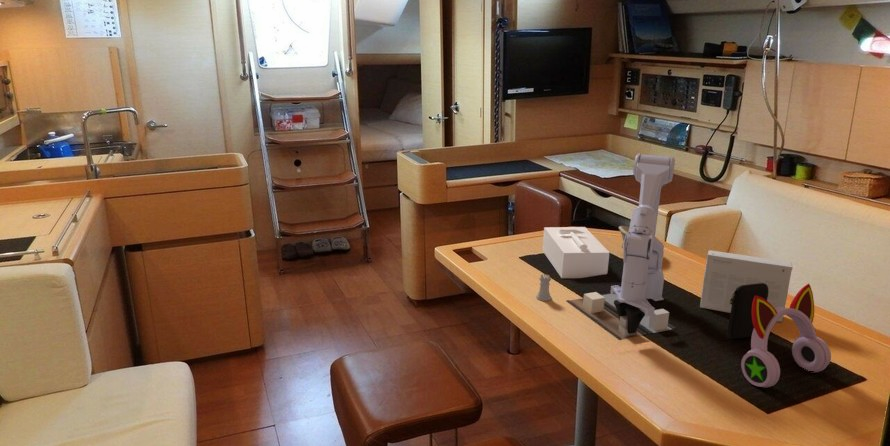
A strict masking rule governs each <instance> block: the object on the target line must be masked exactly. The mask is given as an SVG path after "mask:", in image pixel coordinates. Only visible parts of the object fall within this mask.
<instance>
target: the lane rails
mask: <svg viewBox="0 0 890 446" xmlns="http://www.w3.org/2000/svg"><path fill="white" fill-rule="evenodd" d="M565 301H566V303H568V304H569V305H570V306H572V307H573V308H575V309H576V310H578V311H579V312H580V313H581V314H583V315H585V317H587V318H589V319H590V320H591V321H592V322H594V323H595V324H596V325H598V326H600V328H602V329H603V330H605V331H607V332H608V334H610V335H612V336H613V337H615V339H617V340H619V341H620V340H623V339H622V338H620V337H619V336H618V335H616V334H615V333H614V332H612V331H611V330H609V329H608V328H607V327H605V326H604V325H602V324H601V323H600V322H598V321H597V320H596V319H594V318H593V317H591V316H590V315H589V314H587V313H586V312H585V311H583V310H582V309H580V308H579V307H578V306H576V305H575V304H573V303H572V302H571V301H570V299H567V300H565ZM607 306H608V307H607ZM609 307H610V308H611V309H610V308H609ZM604 309H605V310H606V311H608V312H609V313H611V314H612V315H614V316H615V317H617V318H618V319H619V316H618V313H616V312H617V309H616V308H615V307H614V306H612V305H611V304H609V303H608V302H606V301H604ZM613 310H614V311H613ZM615 311H616V312H615ZM668 327H670V328H671V330H676V328H677V327H676V326H674V325H673V324H671V323H669V322H668ZM640 328H641V329H640ZM643 330H644V331H645V332H644V331H643ZM637 332H639V333H640V334H641V336H646V334H647V333H648V334H650V335H651V334H654V333H653V332H651V331H650V330H648V329H647V328H645V327H644V326H642V325H641V324H639V326H638V331H637ZM646 332H647V333H646Z"/></svg>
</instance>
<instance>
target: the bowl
mask: <svg viewBox="0 0 890 446" xmlns="http://www.w3.org/2000/svg"><path fill="white" fill-rule="evenodd" d="M629 227H630V226H626V225H620V226H618V230H619V232H620V234H621V236H622V237H621V238H622V243H621V248H622V249H623V246H624V240H625V236H626V234H627V235H628V232H629Z"/></svg>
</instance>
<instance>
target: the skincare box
mask: <svg viewBox="0 0 890 446" xmlns="http://www.w3.org/2000/svg"><path fill="white" fill-rule="evenodd" d="M792 271H793V263H792V261H785V260H779V259H773V258H772V259H771V258H766V257H759V256H751V255H745V254H738V253H731V252H724V251H717V250H711V249H709V250H708V252H707V257H706V263H705V270H704V274H703V275H704V276H703V280H702V281H703V282H702V288H701V296H700V304H699V307H700V308H701V309H705V310H706V309H708V310H713V311H719V312H724V313H728V314H730V313H731V307H732V304H730V300H731V298H732V295H733V293H734V292H735V290H736V288H737V287H739V286H741V285H748V284H757V283H765V284H766V285H767V286H768V290H769V292H768V298H767V301H768V302H769V303H770V304H771V305H772V306H773V307H774V308H775V307H782V308H786V303H787V299H788V293H789V288H790V282H791V281H790V280H791V275H792ZM783 321H784V315H783V316H782V317H780V318H779V319H778V320H777V322H779V323H783Z"/></svg>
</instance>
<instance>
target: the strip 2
mask: <svg viewBox="0 0 890 446" xmlns="http://www.w3.org/2000/svg"><path fill="white" fill-rule="evenodd" d="M601 295H602V296H603V297H605V301H606V302H608V303H609V304H611V305H612V306H614V307H615V305H614V301H615V300H617V297H618V296H617V295H616V294H612V293H607V294H606V293H605V294H601ZM615 308H616V307H615ZM669 317H670V312H669V311H668V310H666V309H664V308H659V309H655V310H654V315H652V316H646V315H645V316H644V317H643V319H642V320H641V322H640V324H641V325H642V326H644V327H645V328H647V329H648V330H650V331H651V332H653V333H652V334H655V333H661V332H665V331H672V328H671V327H669V326H668V323H669Z"/></svg>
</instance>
